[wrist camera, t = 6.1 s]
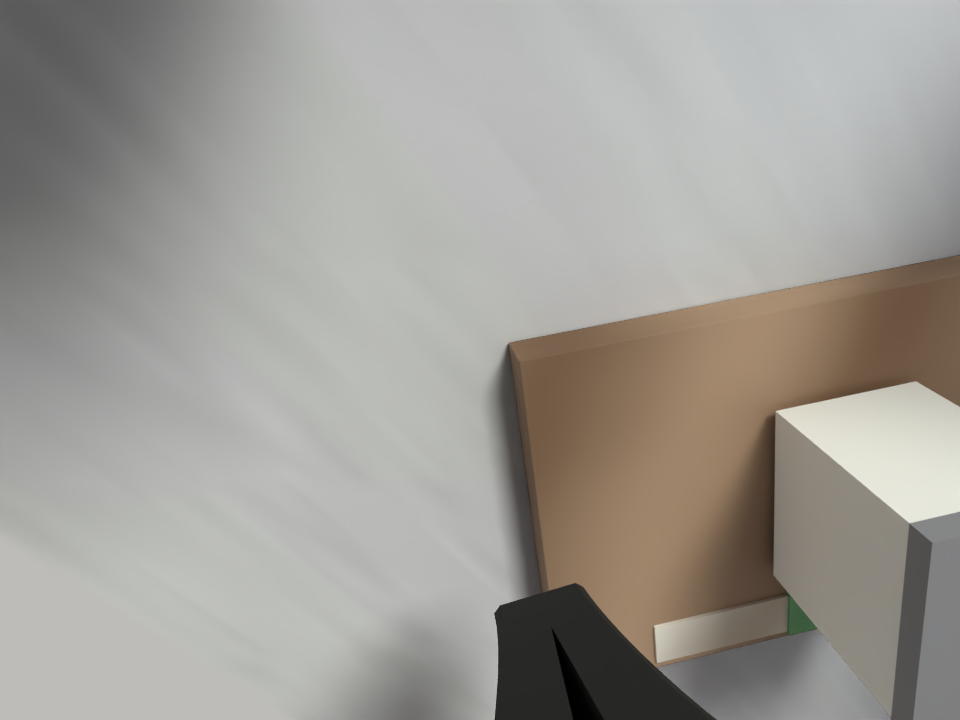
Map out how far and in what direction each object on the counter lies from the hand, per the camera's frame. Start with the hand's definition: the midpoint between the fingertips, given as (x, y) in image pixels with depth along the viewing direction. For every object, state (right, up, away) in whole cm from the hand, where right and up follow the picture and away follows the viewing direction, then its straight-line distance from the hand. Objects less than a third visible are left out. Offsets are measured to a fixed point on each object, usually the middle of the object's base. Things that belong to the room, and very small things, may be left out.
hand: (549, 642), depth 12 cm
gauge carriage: (+7, +1, +5) cm, 8 cm away
